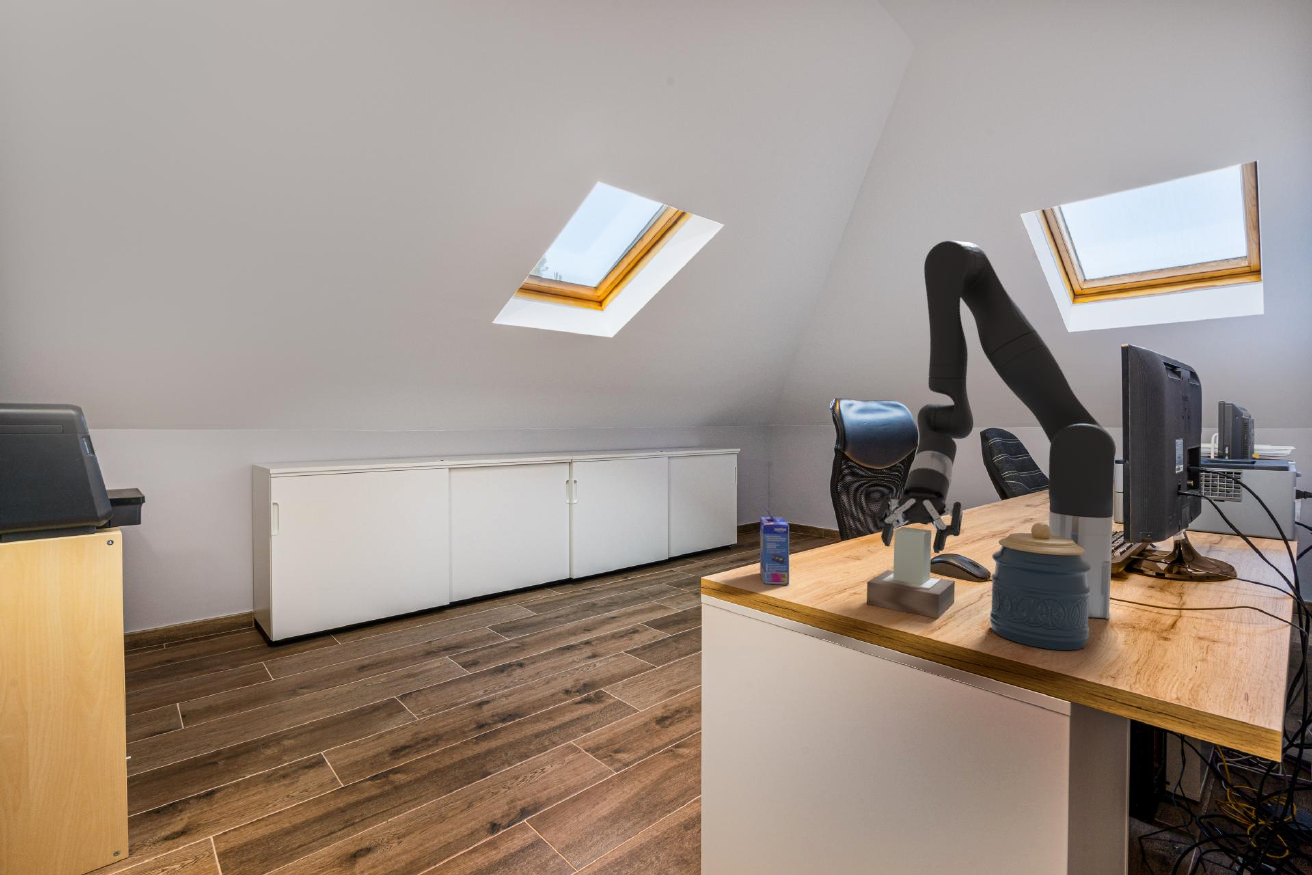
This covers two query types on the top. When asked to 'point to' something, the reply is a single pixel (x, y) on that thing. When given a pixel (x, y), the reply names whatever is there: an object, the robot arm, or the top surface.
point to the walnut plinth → (911, 595)
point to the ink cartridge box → (774, 550)
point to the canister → (1041, 590)
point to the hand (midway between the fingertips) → (910, 547)
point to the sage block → (912, 555)
